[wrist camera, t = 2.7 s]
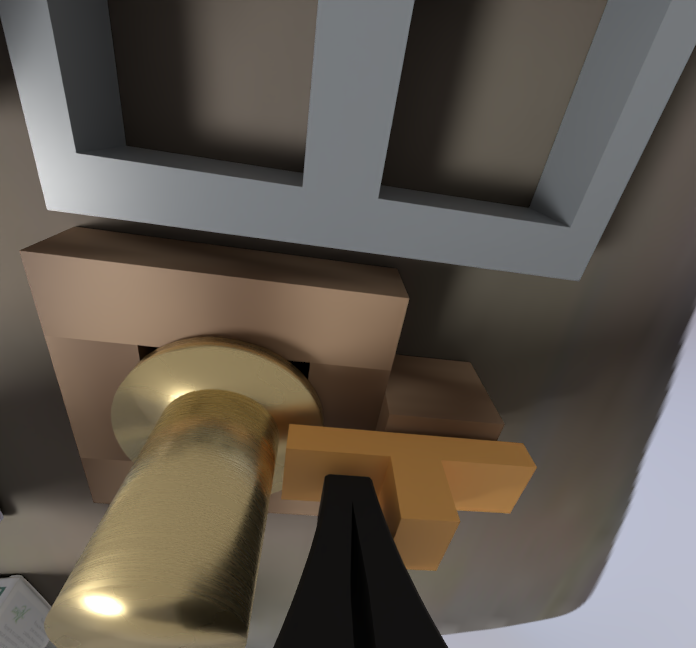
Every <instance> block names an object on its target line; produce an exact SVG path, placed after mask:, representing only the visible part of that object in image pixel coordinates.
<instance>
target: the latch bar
mask: <svg viewBox="0 0 696 648" xmlns="http://www.w3.org/2000/svg"><path fill="white" fill-rule="evenodd" d="M536 468H537V467H536V465H535V463H534V462H533V460H532V458H531V456H530V455H529V453H528V451H527V450H526V448H525V446H524V444H523V443H513V442H501V441H489V440H477V439H465V438H453V437H441V436H429V435H417V434H405V433H393V432H381V431H369V430H357V429H345V428H333V427H320V426H308V425H296V424H289V431H288V438H287V445H286V454H285V464H284V475H283V485H282V495H281V499H284V500H301V501H317V502H320V501H321V495H322V489H323V484H324V478H325V476H327V475H328V474H335V475H349V476H363V477H370V478H371V479H372V481H373V485H374V488H375V492H376V495H377V498H378V501H379V504H380V507H381V509H382V512H383V515H384V517H385V520H386V523H387V525H388V528H389V530H390V533H391V535H392V537H393V540H394V542H395V544H396V547H397V549H398V551H399V554H400V556H401V558H402V560H403V563H404V565H405V567H406V569H410V570H433V571H436V570H437V568H438V566H439V564H440V562H441V560H442V558H443V556H444V554H445V552H446V550H447V548H448V546H449V544H450V542H451V540H452V538H453V535H454V533H455V531H456V529H457V527H458V525H459V523H460V519H459V516H458V513H457V510H463V511H479V512H496V513H510V512H511V511H512V509H513V507H514V505H515V504H516V502H517V500H518V499H519V497H520V495H521V494H522V492H523V490H524V488H525V487H526V485H527V483H528V482H529V480H530V478H531V477H532V475H533V473H534V471H535V470H536Z"/></svg>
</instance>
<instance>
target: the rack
mask: <svg viewBox="0 0 696 648" xmlns="http://www.w3.org/2000/svg"><path fill="white" fill-rule="evenodd" d="M413 6H414V0H318V11H317V23H316V34H315V46H314V58H313V69H312V81H311V93H310V105H309V116H308V128H307V140H306V152H305V163H304V173H300V172H293V171H287V170H280V169H274V168H267V167H261V166H254V165H248V164H241V163H235V162H229V161H222V160H216V159H209V158H203V157H196V156H190V155H183V154H177V153H170V152H164V151H157V150H151V149H144V148H138V147H131V146H126V140H125V133H124V125H123V117H122V109H121V102H120V94H119V86H118V79H117V71H116V63H115V56H114V48H113V40H112V33H111V25H110V17H109V10H108V2H107V0H0V18H1V22H2V26H3V30H4V34H5V38H6V42H7V47H8V51H9V55H10V59H11V63H12V67H13V71H14V75H15V79H16V84H17V88H18V92H19V96H20V100H21V104H22V108H23V112H24V116H25V121H26V125H27V129H28V133H29V137H30V141H31V145H32V149H33V153H34V157H35V162H36V166H37V170H38V174H39V178H40V182H41V186H42V190H43V194H44V199H45V203H46V207H47V210H53V211H61V212H68V213H76V214H83V215H91V216H98V217H105V218H113V219H120V220H128V221H135V222H143V223H150V224H158V225H165V226H172V227H180V228H187V229H195V230H202V231H210V232H217V233H225V234H232V235H239V236H247V237H254V238H262V239H269V240H277V241H284V242H292V243H299V244H306V245H314V246H321V247H329V248H336V249H344V250H351V251H359V252H366V253H373V254H381V255H388V256H396V257H403V258H411V259H418V260H426V261H433V262H441V263H448V264H455V265H463V266H470V267H478V268H485V269H493V270H500V271H508V272H515V273H522V274H530V275H537V276H545V277H552V278H560V279H567V280H575V281H579V280H580V278H581V276H582V274H583V272H584V270H585V268H586V266H587V264H588V262H589V260H590V258H591V256H592V254H593V252H594V250H595V248H596V246H597V244H598V242H599V240H600V238H601V236H602V234H603V232H604V230H605V228H606V226H607V224H608V222H609V220H610V217H611V215H612V213H613V211H614V209H615V207H616V205H617V203H618V201H619V199H620V197H621V195H622V193H623V191H624V189H625V187H626V185H627V183H628V181H629V179H630V177H631V175H632V173H633V171H634V169H635V167H636V165H637V163H638V161H639V159H640V157H641V155H642V152H643V150H644V148H645V146H646V144H647V142H648V140H649V138H650V136H651V134H652V132H653V130H654V128H655V126H656V124H657V122H658V120H659V118H660V116H661V114H662V112H663V110H664V108H665V106H666V104H667V102H668V100H669V98H670V96H671V94H672V92H673V90H674V87H675V85H676V83H677V81H678V79H679V77H680V75H681V73H682V71H683V69H684V67H685V65H686V63H687V61H688V59H689V57H690V55H691V53H692V51H693V49H694V47H695V45H696V0H608V2H607V5H606V7H605V10H604V13H603V15H602V18H601V20H600V23H599V26H598V28H597V31H596V34H595V36H594V39H593V41H592V44H591V47H590V49H589V52H588V55H587V57H586V60H585V62H584V65H583V68H582V70H581V73H580V76H579V78H578V81H577V83H576V86H575V89H574V91H573V94H572V97H571V99H570V102H569V104H568V107H567V110H566V112H565V115H564V118H563V120H562V123H561V125H560V128H559V131H558V133H557V136H556V139H555V141H554V144H553V146H552V149H551V152H550V154H549V157H548V160H547V162H546V165H545V167H544V170H543V173H542V175H541V178H540V181H539V183H538V186H537V188H536V191H535V194H534V196H533V199H532V202H531V204H530V207H529V208H526V207H520V206H513V205H507V204H501V203H494V202H488V201H481V200H475V199H468V198H462V197H455V196H449V195H442V194H436V193H429V192H423V191H416V190H410V189H403V188H397V187H390V186H384V185H381V180H382V175H383V169H384V164H385V158H386V153H387V148H388V142H389V137H390V131H391V126H392V120H393V115H394V109H395V104H396V98H397V93H398V88H399V82H400V77H401V71H402V66H403V60H404V55H405V49H406V44H407V38H408V33H409V27H410V22H411V17H412V11H413Z"/></svg>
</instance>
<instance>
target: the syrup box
mask: <svg viewBox="0 0 696 648" xmlns="http://www.w3.org/2000/svg"><path fill="white" fill-rule="evenodd" d="M50 609H51V606H50V605H49V603H48V602H47V601H46V600H45V599H44V598H43V597H42V596H41V595H40V594H39V592H38V591H37V590H36V589H35V588H34V587H33V586H32V585H31V584H30V583H29V582H28V581H27V580H26V579H24V577H23V576H22V575H12V576H10V577H8V578H0V648H45V647H46V645H47V643H48V641H49V638H48V636H47V635H46V632H45V629H44V622H45V618H46V616H47V614H48V613H49V611H50Z"/></svg>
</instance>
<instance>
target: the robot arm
mask: <svg viewBox="0 0 696 648" xmlns="http://www.w3.org/2000/svg"><path fill="white" fill-rule="evenodd" d="M2 520H3V514H2V512H1V510H0V522H1V521H2ZM273 648H448V646H447V645H446V643H445V642H444V640H443V638H442V636H441V634H440V633H439V631H438V629H437V627H436V626H435V624H434V622H433V620H432V618H431V617H430V615H429V613H428V611H427V609H426V607H425V605H424V603H423V601H422V600H421V598H420V596H419V594H418V592H417V590H416V588H415V586H414V584H413V582H412V580H411V577H410V575H409V573H408V571H407V569H406V567H405V565H404V563H403V560H402V558H401V556H400V554H399V551H398V549H397V547H396V544H395V542H394V540H393V537H392V535H391V533H390V530H389V528H388V525H387V523H386V520H385V517H384V515H383V512H382V509H381V507H380V504H379V501H378V498H377V495H376V492H375V488H374V485H373V481H372V479H371V478H370V477H363V476H349V475H335V474H328V475H327V476H325V478H324V484H323V489H322V495H321V501H320V506H319V512H318V522H317V528H316V532H315V535H314V539H313V542H312V546H311V549H310V552H309V555H308V558H307V561H306V564H305V567H304V570H303V573H302V576H301V579H300V582H299V585H298V587H297V590H296V593H295V595H294V598H293V601H292V603H291V606H290V608H289V611H288V613H287V616H286V618H285V621H284V623H283V626H282V628H281V631H280V633H279V635H278V638H277V640H276V642H275V645H274V647H273Z"/></svg>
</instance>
